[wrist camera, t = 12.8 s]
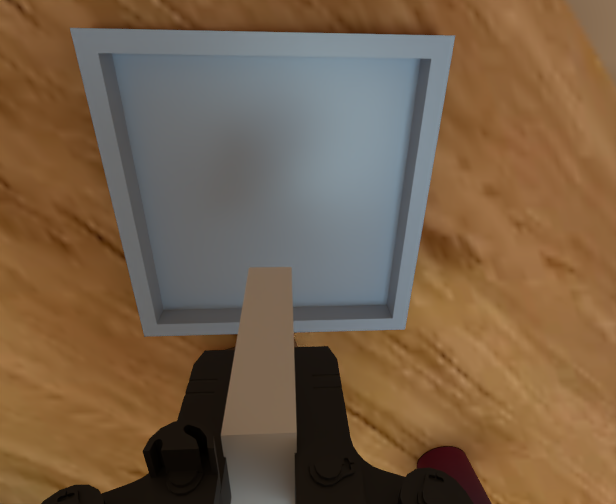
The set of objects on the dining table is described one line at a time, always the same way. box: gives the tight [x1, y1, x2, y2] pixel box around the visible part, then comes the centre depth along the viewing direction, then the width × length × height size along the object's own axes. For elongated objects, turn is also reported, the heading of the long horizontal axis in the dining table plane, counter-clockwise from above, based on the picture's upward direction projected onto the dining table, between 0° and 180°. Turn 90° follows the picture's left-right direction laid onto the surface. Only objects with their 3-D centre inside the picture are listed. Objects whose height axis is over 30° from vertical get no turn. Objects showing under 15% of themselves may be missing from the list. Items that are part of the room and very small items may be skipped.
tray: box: [70, 28, 455, 337], centre depth 23 cm, size 18×18×2 cm
